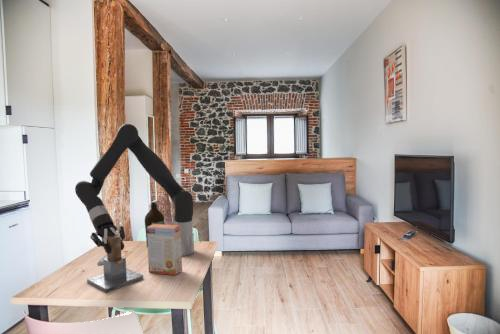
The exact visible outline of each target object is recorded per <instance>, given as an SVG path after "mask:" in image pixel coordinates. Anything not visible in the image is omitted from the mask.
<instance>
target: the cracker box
mask: <svg viewBox="0 0 500 334" xmlns="http://www.w3.org/2000/svg"><path fill="white" fill-rule="evenodd" d="M147 239H148V247H147V257H148V259H147V260H148V261H147V262H148V272H149V273H153V274H163V275H170V276H176V275H178V274H179V273H181V272H182V271H183V256H182V253H181V226H179V225H175V224H164V225H163V224H153V225H150V226H148V227H147Z"/></svg>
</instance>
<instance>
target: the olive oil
mask: <svg viewBox="0 0 500 334" xmlns="http://www.w3.org/2000/svg"><path fill="white" fill-rule="evenodd" d="M153 224H163V225H165V215H164V214H163V213H162V212H161V211H160V210H159V209H158V202H157V201H151V202H150V209H149V211H148V212H147V213H146V215H144V228H145V230H144V231H145V239H146V248H148V239H147V227H148V226H150V225H153Z"/></svg>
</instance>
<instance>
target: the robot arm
mask: <svg viewBox="0 0 500 334" xmlns="http://www.w3.org/2000/svg"><path fill="white" fill-rule="evenodd" d="M127 149H128V150H129V151H130V152H131V153H132V154H133V155H134V156H135V157H136V160H137V161H138V162H139V164H140V165H141V167H142V168H143V169H144V170H145V171H146V173H148V175H149V176H150V177H151V178H152V179H153V180H154V182H156V183H157V184H158V185H159V186H160V187H161V188H162V189H164V191H165V192H166V193H167V195H168V196H169V198H170V199H171V200H172V203H173V204H174V210H175V211H174V212H175V213H174V216H173V222H174V224H173V225H179V226H181V253H182V257H184V256H185V257H186V256H190V255H193V254H194V251H195V236H194V234H195V233H193V232H194V231H193V230H194V228H193V217H194V198H193V195H192V193H191V192H189V191H188V190H186V189H184V188H183V187H182V186H181V184H179V183H178V182H177V181H176V179H175V178H174V176H173V174H172V172H171V171H170V169H169V167H168V166H167V164H166V163H165V162H164V161H163V160H162V158H160V156H159V155H158V154H156V153H155V152H154V151H153V150H152V149H150V148H149V146H147V145H146V144H145V142H144V141H143V139H142V138H141V137H140V135H139V131H138V128H137V127H136V126H135V125H134V124H131V123H125V124H122V125H121V126H119V128H118V129H117V132H116V136H115V137H114V140H113V142H112V143H111V145H110V146H109V147H108V149H107V151H105V153H104V154H103V155H102V156H100V158H99V160H98V161H97V162H96V163H95V165H94V167H92V169H91V170H90V172H89V177H91V178H92V179H91V182H90V181H87V180H80V181H79V182H77V183H76V184H75V187H74V192H75V194H76V196H77V197H78V199H79V200H80V202H81V203H82V204H83V205H84V206H85V209H86V211H87V213H88V215H89V219H90V221H91V223H92V226H93V227H94V229H95V230H94V231H96V232H92V233H90V234H91V235H90V239H91V240H92V242H93V243H94V244H95V245H96V246H97V247H99V248H100V247H102V248H103V249H104V251H105V253H106V254H107V253H108V254H110V253H111V249H110V247H109V245H108V244H107V237H110V236H114V235H117V236H120V238H121V251H123V250H124V249H125V244H124V242H123V241H124V239H125V238H126V235H125V233H126V232H125V228H124V226H122V225H121V226H120V227H117V226H116V225H115V223H114V221H113V219H112V217H111V215H110V213H109V211H108V209H107V207H106V205H105V204H104V202H103V199H101V197H99V194H101V191H102V188H103V186H104V183H105V180H106V179H107V177H109V174H110V173H111V172H112V170H113V169H114V168H115V166H116V164H117V162H118V161H119V159H120V158H121V156H122V155H123V154H124V152H125V151H126V150H127Z"/></svg>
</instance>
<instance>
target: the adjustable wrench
mask: <svg viewBox="0 0 500 334" xmlns="http://www.w3.org/2000/svg"><path fill="white" fill-rule="evenodd" d="M105 258H107V253H106V254H105V255H104V256H102V257H101V259H99V260H98V261H97V266H103V259H105Z"/></svg>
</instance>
